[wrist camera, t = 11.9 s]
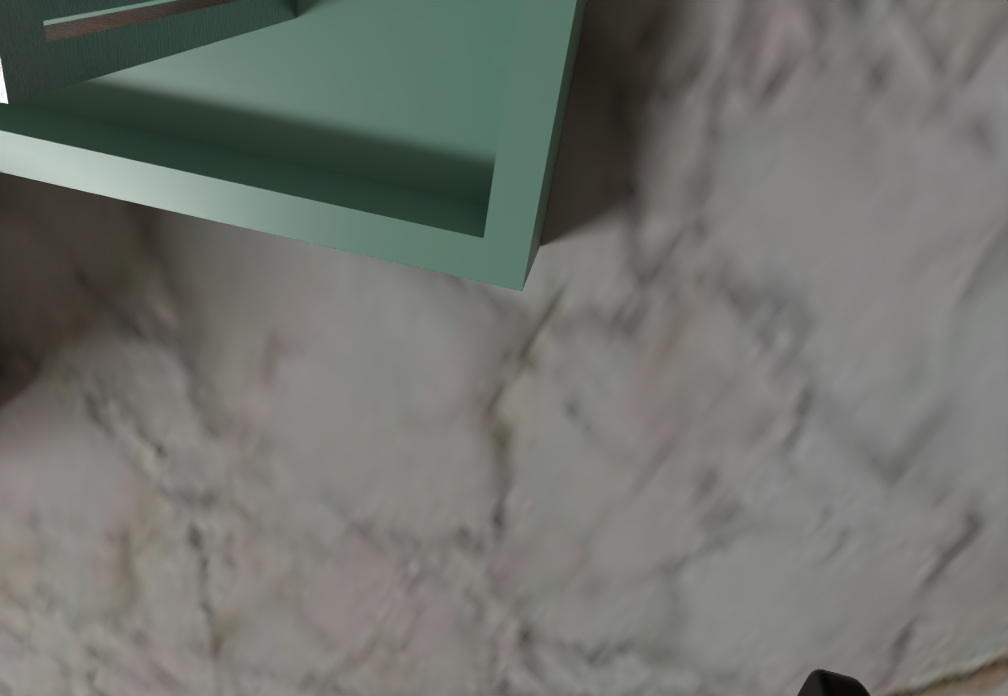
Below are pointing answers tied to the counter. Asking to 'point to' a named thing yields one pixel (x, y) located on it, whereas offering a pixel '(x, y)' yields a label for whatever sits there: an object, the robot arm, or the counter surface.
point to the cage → (113, 37)
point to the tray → (334, 129)
